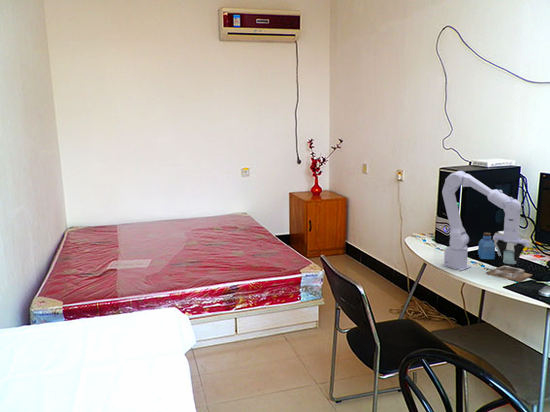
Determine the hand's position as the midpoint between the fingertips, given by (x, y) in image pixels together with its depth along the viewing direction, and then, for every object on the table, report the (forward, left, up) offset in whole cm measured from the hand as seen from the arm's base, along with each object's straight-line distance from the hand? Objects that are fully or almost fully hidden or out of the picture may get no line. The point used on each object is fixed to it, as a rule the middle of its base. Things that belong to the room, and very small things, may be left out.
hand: (509, 259), depth 187 cm
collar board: (0, 0, -7) cm, 7 cm away
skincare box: (-14, +24, -7) cm, 29 cm away
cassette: (-19, +34, -7) cm, 40 cm away
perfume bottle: (-19, +16, -7) cm, 26 cm away
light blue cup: (0, 0, -1) cm, 1 cm away
